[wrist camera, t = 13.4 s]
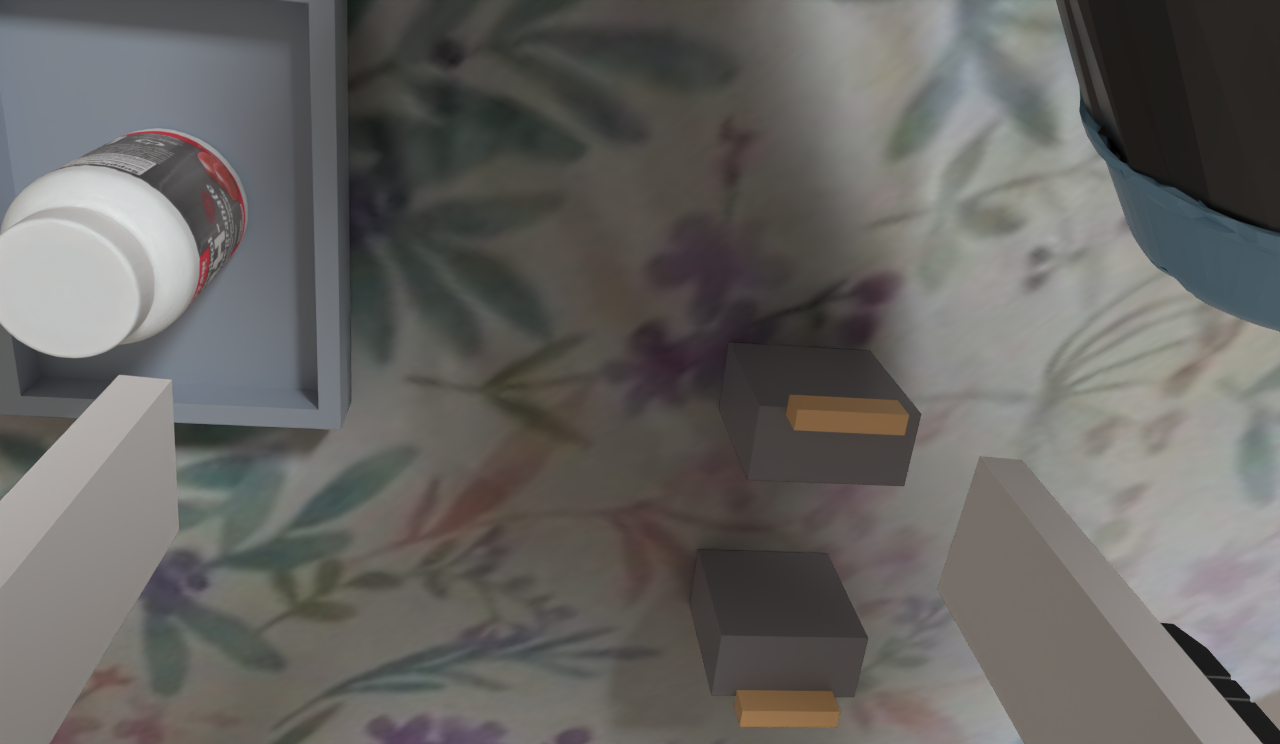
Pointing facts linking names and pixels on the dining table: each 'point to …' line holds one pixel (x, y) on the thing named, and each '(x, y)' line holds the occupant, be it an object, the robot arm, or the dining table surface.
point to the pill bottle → (117, 242)
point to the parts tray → (254, 147)
